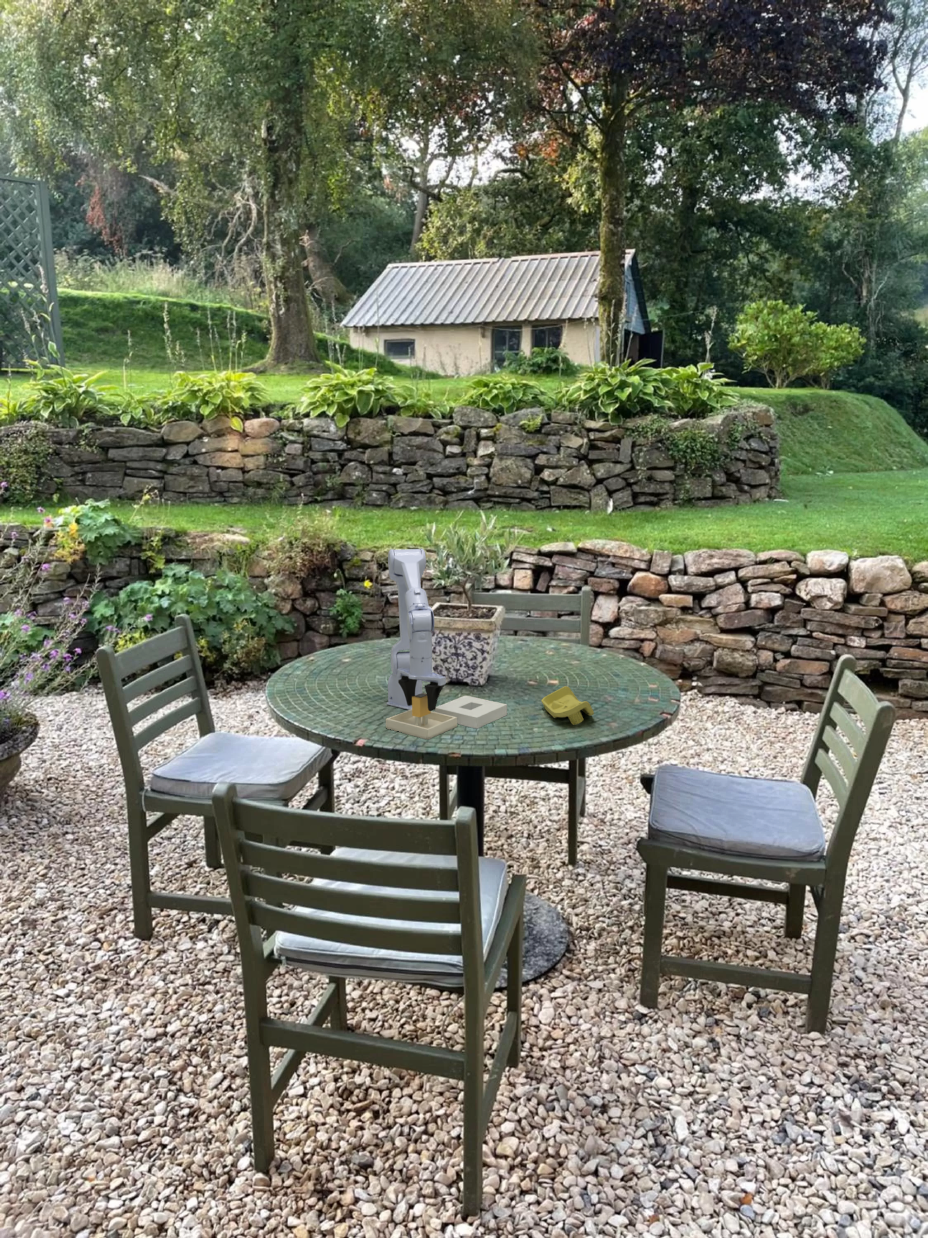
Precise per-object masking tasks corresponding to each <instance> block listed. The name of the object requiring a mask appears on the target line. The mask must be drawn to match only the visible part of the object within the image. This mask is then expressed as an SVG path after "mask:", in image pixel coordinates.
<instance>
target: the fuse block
mask: <svg viewBox="0 0 928 1238" xmlns="http://www.w3.org/2000/svg"><path fill="white" fill-rule="evenodd" d="M434 712H436V713H441V714H445V715H449V716H453V717H457V725H460V726H465V727H469V728H471V729H472V728H473V729H480V728H482V727H484V726H486V725H488V724H490V723H492V722H495V721H497V720H499V719H501V718H504V717H506V716H507V715H508V704H507V703H502V702H498V701H492V700H487V699H483V698H479V697H475V696H470V695H463V696H460V697H457V698H455V699H453V700H450V701H448V702H446V703H442V704H440V705H438V706H437V705H436V708H435V710H434Z"/></svg>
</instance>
